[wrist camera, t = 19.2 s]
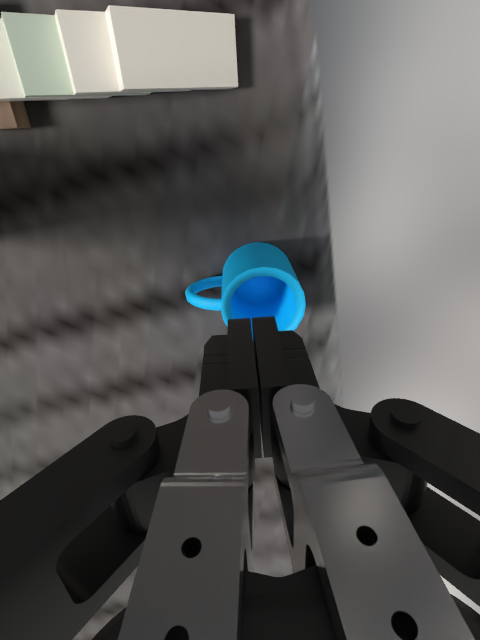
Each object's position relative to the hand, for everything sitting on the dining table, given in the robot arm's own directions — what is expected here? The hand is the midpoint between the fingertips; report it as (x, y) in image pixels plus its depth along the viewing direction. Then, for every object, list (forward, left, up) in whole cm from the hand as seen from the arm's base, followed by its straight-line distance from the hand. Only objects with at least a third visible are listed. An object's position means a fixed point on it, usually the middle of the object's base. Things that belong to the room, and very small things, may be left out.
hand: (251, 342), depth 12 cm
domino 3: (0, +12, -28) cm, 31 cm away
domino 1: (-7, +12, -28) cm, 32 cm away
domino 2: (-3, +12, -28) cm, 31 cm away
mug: (0, -9, -29) cm, 31 cm away
